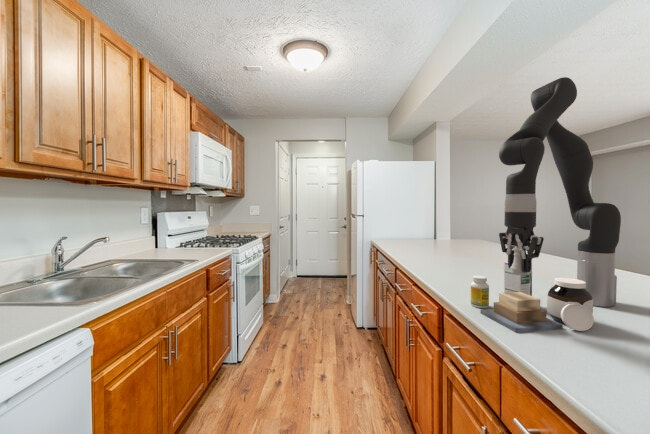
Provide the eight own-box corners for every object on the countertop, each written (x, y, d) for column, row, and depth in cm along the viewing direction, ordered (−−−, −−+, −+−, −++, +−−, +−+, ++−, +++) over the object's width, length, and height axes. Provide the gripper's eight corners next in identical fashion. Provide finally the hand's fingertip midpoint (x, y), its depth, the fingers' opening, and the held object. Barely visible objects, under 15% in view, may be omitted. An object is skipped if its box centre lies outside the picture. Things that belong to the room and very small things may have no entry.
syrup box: (520, 308, 95) (520, 263, 95) (503, 302, 101) (503, 260, 100) (532, 306, 97) (533, 261, 97) (514, 300, 103) (515, 258, 102)
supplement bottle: (476, 302, 102) (476, 274, 101) (492, 306, 97) (492, 277, 97) (467, 305, 99) (467, 276, 98) (483, 309, 94) (483, 279, 94)
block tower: (521, 310, 94) (521, 288, 93) (562, 328, 80) (563, 302, 79) (480, 313, 92) (480, 290, 91) (515, 332, 78) (515, 305, 78)
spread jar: (570, 314, 89) (571, 276, 89) (613, 330, 78) (614, 286, 78) (536, 318, 87) (536, 278, 87) (574, 334, 76) (575, 289, 76)
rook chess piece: (506, 272, 87) (506, 245, 87) (520, 271, 88) (521, 244, 87) (517, 275, 83) (517, 247, 83) (532, 275, 83) (532, 246, 83)
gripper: (554, 210, 78) (552, 275, 79) (512, 209, 92) (512, 264, 93) (528, 211, 77) (527, 276, 78) (490, 210, 91) (489, 265, 92)
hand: (519, 269), depth 85 cm, fingers closed on rook chess piece, 4 cm apart
